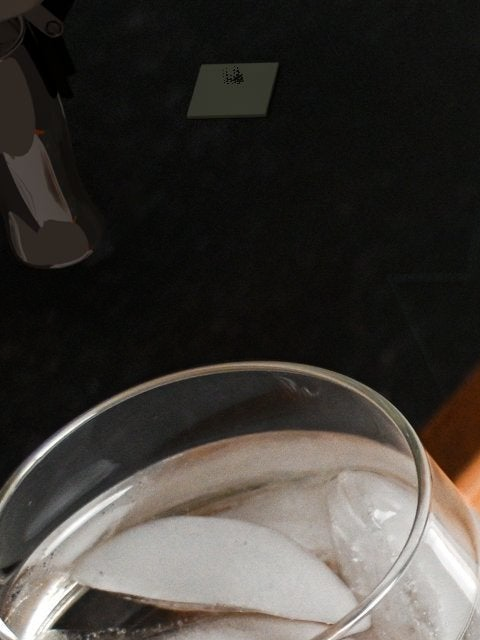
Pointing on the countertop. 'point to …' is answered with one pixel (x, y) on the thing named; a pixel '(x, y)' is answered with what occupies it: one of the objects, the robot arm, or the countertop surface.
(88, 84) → the countertop surface
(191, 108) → the tile
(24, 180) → the beer glass
